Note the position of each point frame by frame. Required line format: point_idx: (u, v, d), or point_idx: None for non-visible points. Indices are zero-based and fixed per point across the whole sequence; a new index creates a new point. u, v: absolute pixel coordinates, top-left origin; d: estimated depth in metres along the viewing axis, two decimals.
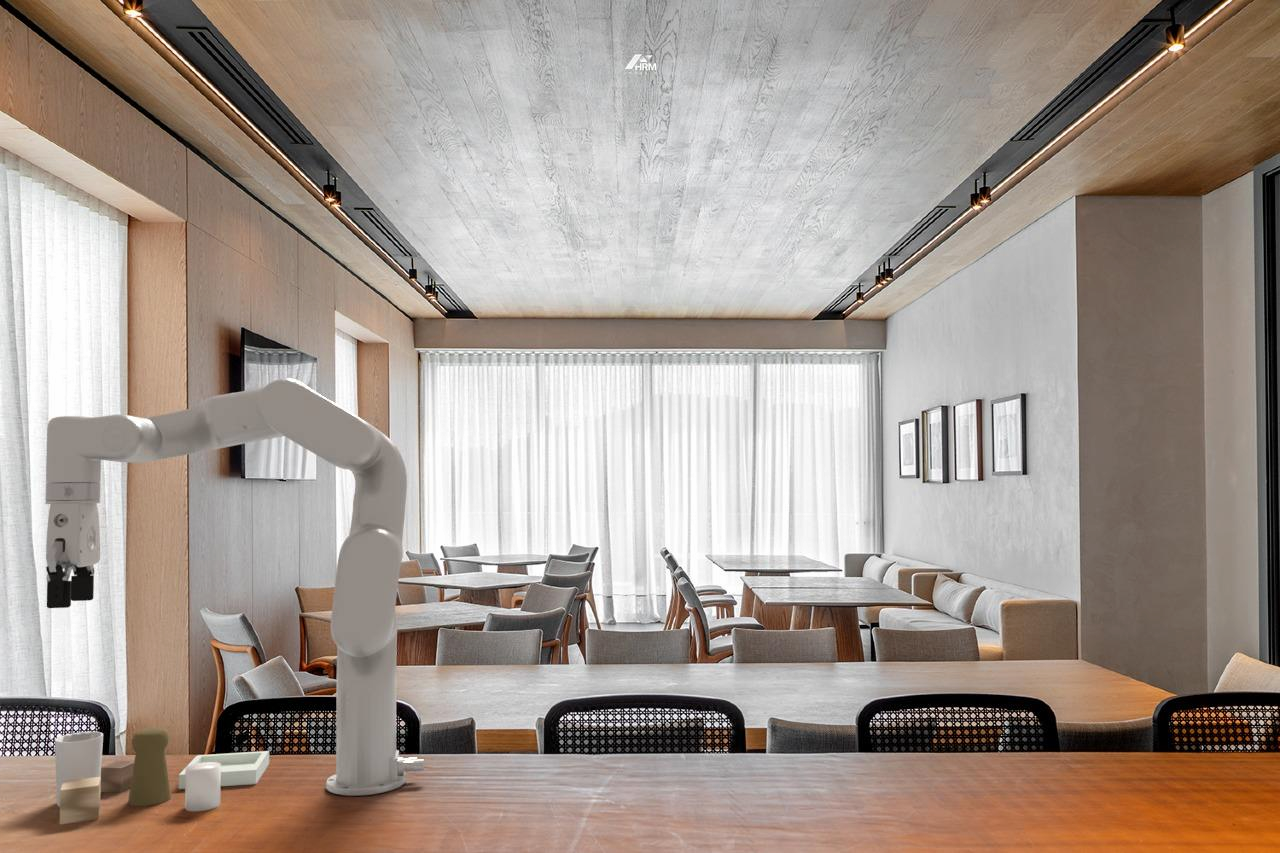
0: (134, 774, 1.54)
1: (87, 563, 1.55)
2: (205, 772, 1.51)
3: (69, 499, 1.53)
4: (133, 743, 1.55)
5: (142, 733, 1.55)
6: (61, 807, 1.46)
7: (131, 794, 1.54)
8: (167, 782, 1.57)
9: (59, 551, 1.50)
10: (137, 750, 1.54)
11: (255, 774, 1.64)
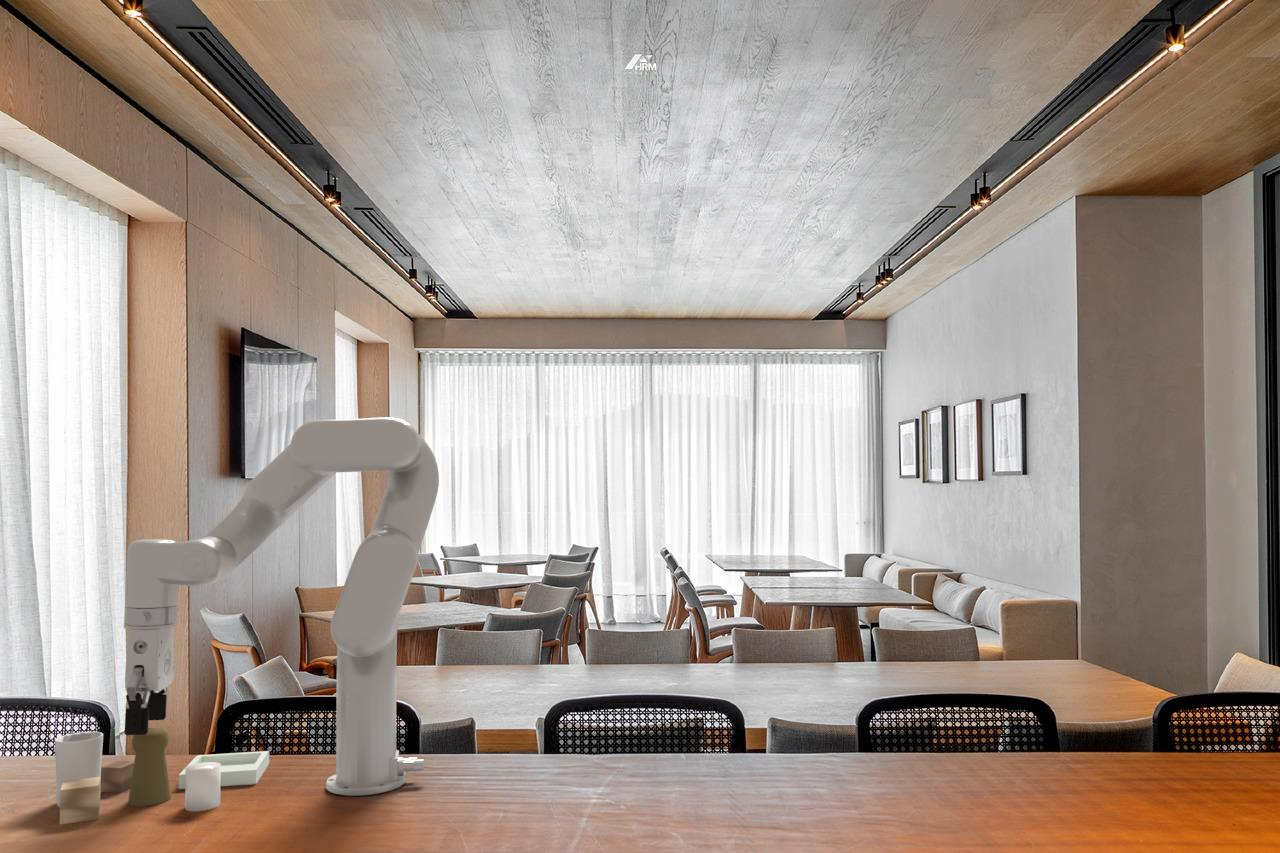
0: (134, 774, 1.54)
1: (163, 687, 1.56)
2: (205, 772, 1.51)
3: (148, 625, 1.54)
4: (133, 743, 1.55)
5: None
6: (61, 807, 1.46)
7: (131, 794, 1.54)
8: (167, 782, 1.57)
9: (139, 679, 1.51)
10: (137, 750, 1.54)
11: (255, 774, 1.64)
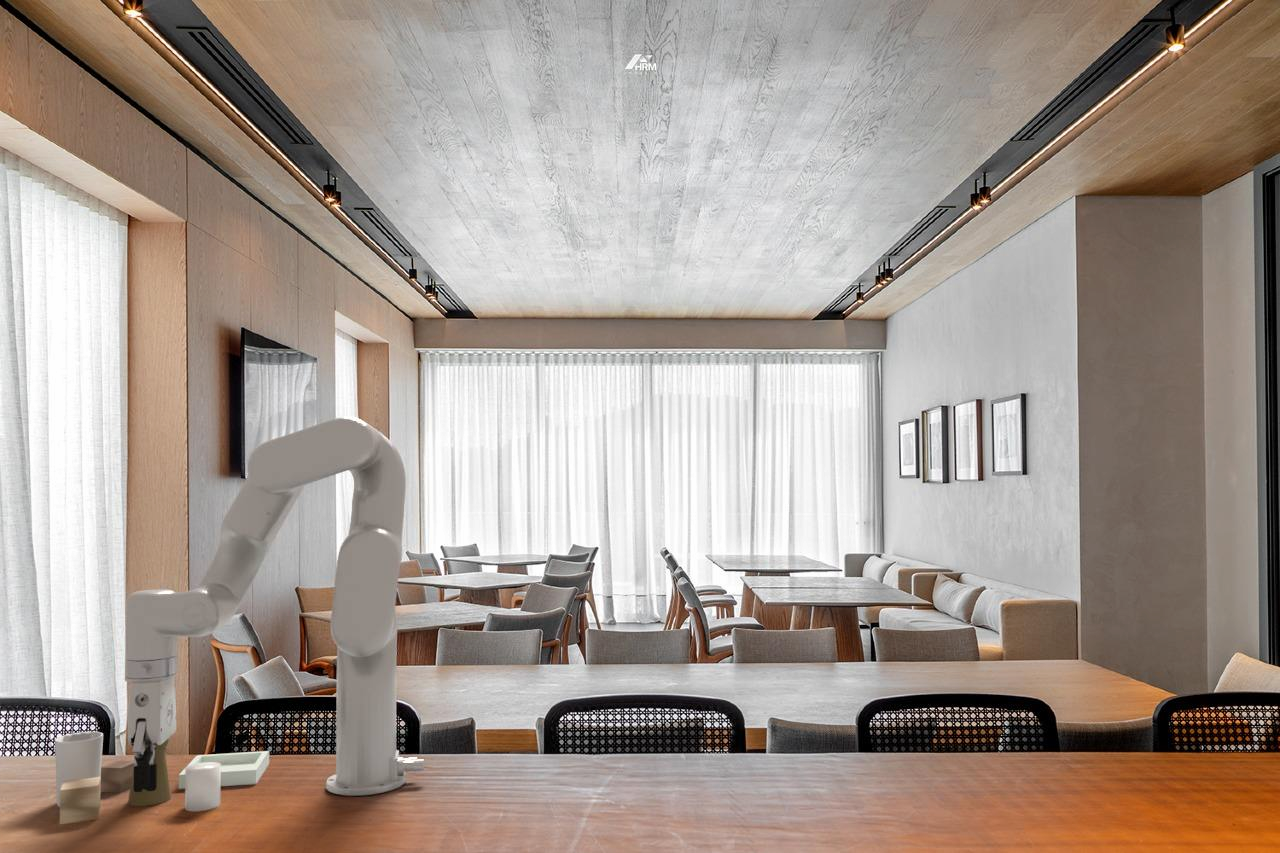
0: None
1: (166, 738, 1.56)
2: (205, 772, 1.51)
3: (149, 677, 1.54)
4: None
5: None
6: (61, 807, 1.46)
7: (131, 794, 1.54)
8: (167, 782, 1.57)
9: (144, 740, 1.51)
10: None
11: (255, 774, 1.64)
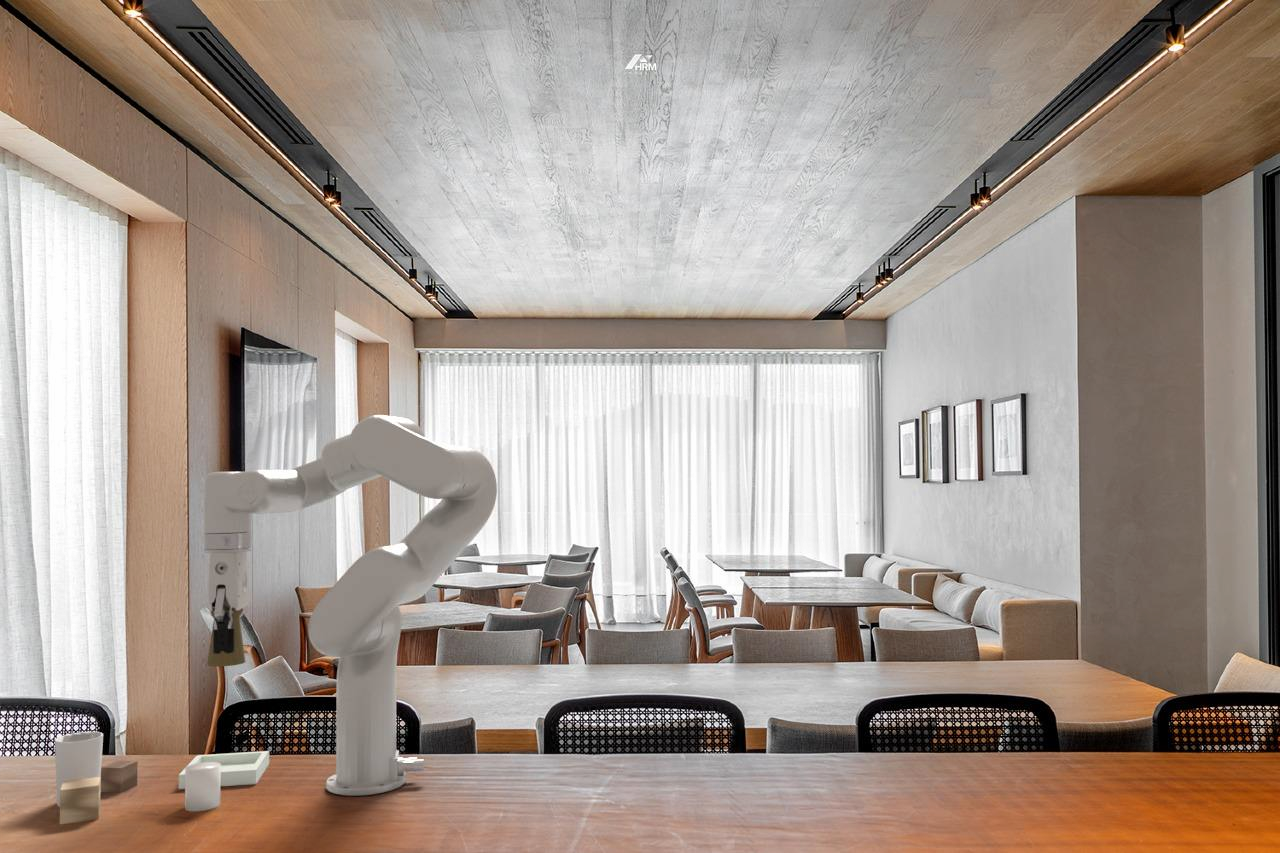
0: (213, 638, 1.68)
1: (242, 606, 1.69)
2: (205, 772, 1.51)
3: (227, 548, 1.67)
4: None
5: None
6: (61, 807, 1.46)
7: (210, 656, 1.68)
8: (242, 647, 1.70)
9: (223, 604, 1.65)
10: None
11: (255, 774, 1.64)
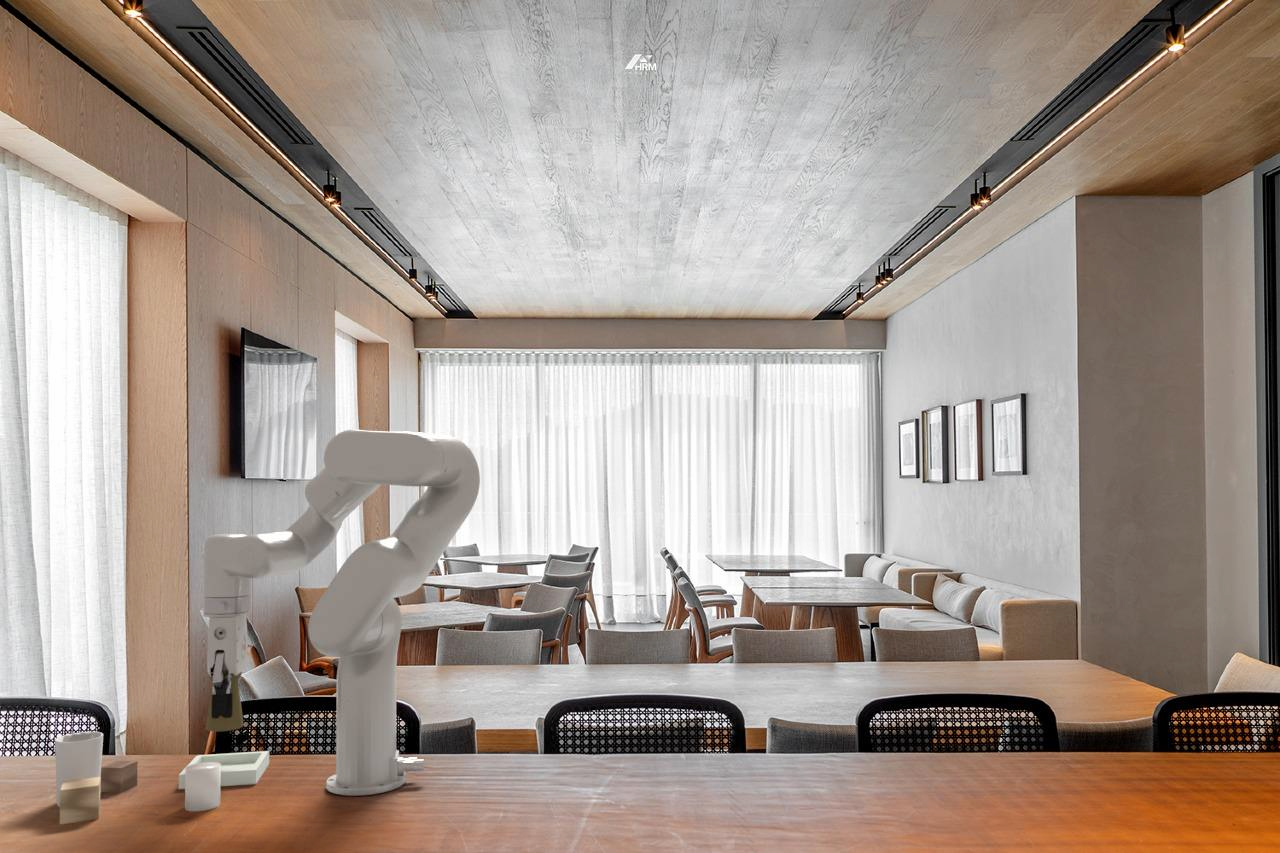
0: (211, 702, 1.67)
1: (241, 670, 1.69)
2: (205, 772, 1.51)
3: (226, 613, 1.67)
4: None
5: None
6: (61, 807, 1.46)
7: (208, 720, 1.67)
8: (240, 711, 1.70)
9: (222, 670, 1.64)
10: None
11: (255, 774, 1.64)
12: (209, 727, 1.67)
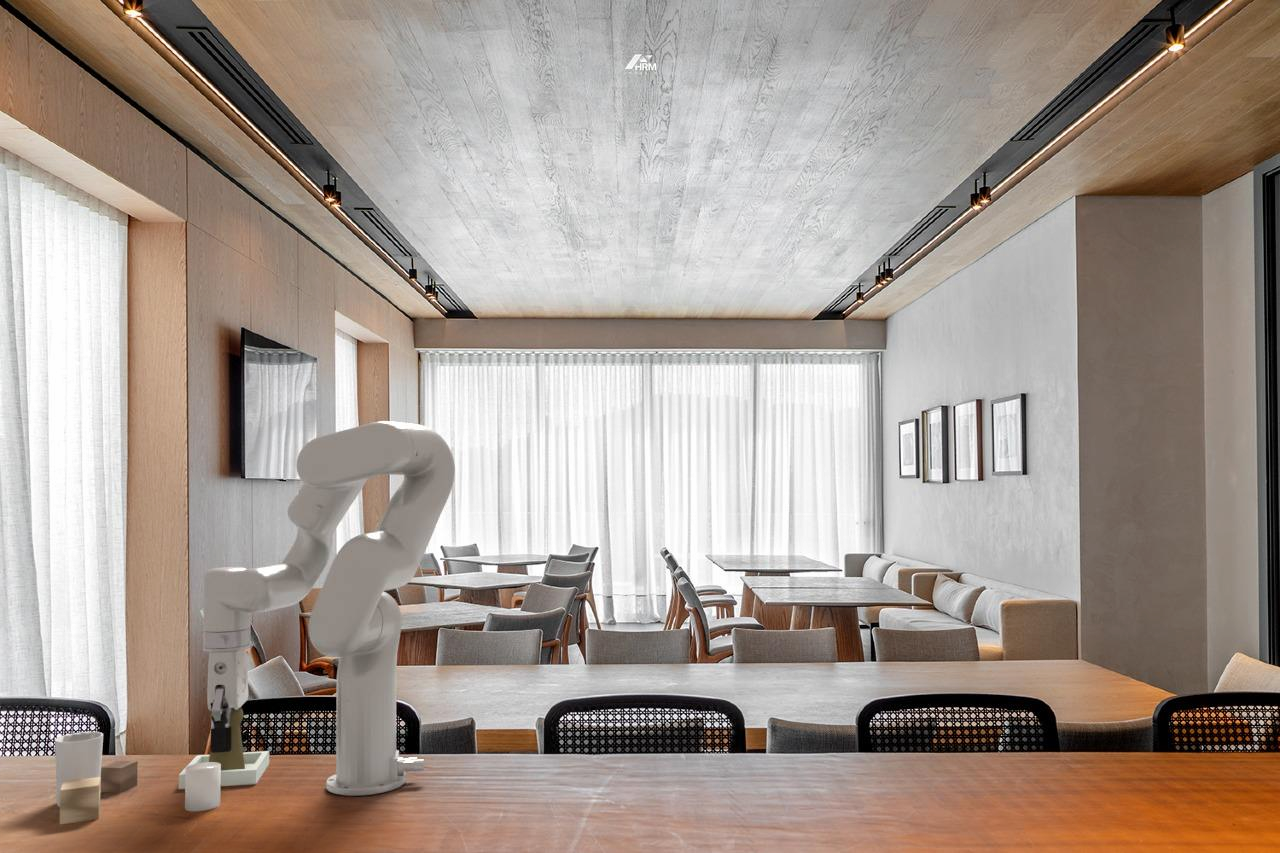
0: None
1: (241, 704, 1.68)
2: (205, 772, 1.51)
3: (226, 647, 1.66)
4: (211, 718, 1.67)
5: None
6: (61, 807, 1.46)
7: None
8: (242, 755, 1.69)
9: (221, 702, 1.63)
10: None
11: (255, 774, 1.64)
12: None
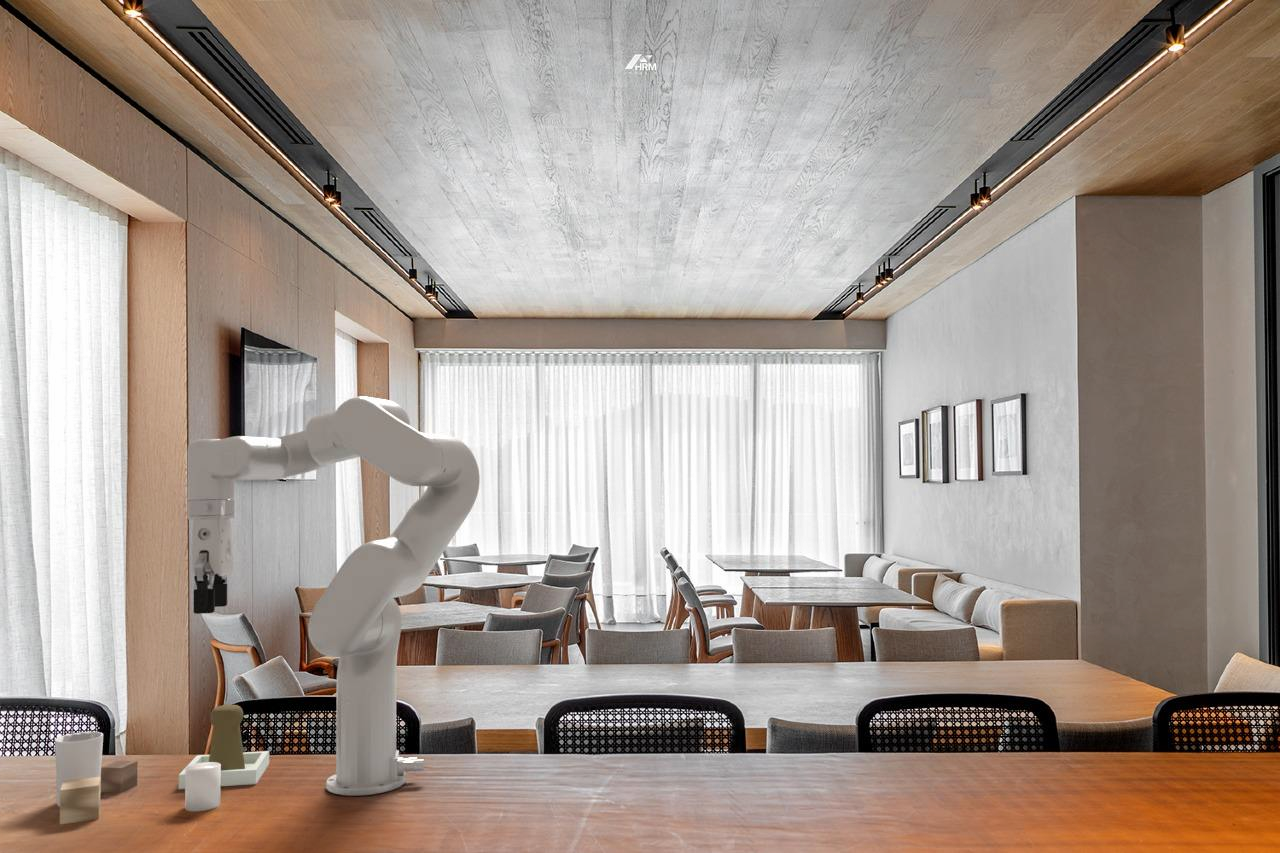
0: (212, 747, 1.67)
1: (226, 572, 1.71)
2: (205, 772, 1.51)
3: (210, 514, 1.69)
4: (211, 718, 1.67)
5: (219, 709, 1.67)
6: (61, 807, 1.46)
7: None
8: (242, 755, 1.69)
9: (205, 562, 1.65)
10: (215, 725, 1.67)
11: (255, 774, 1.64)
12: None
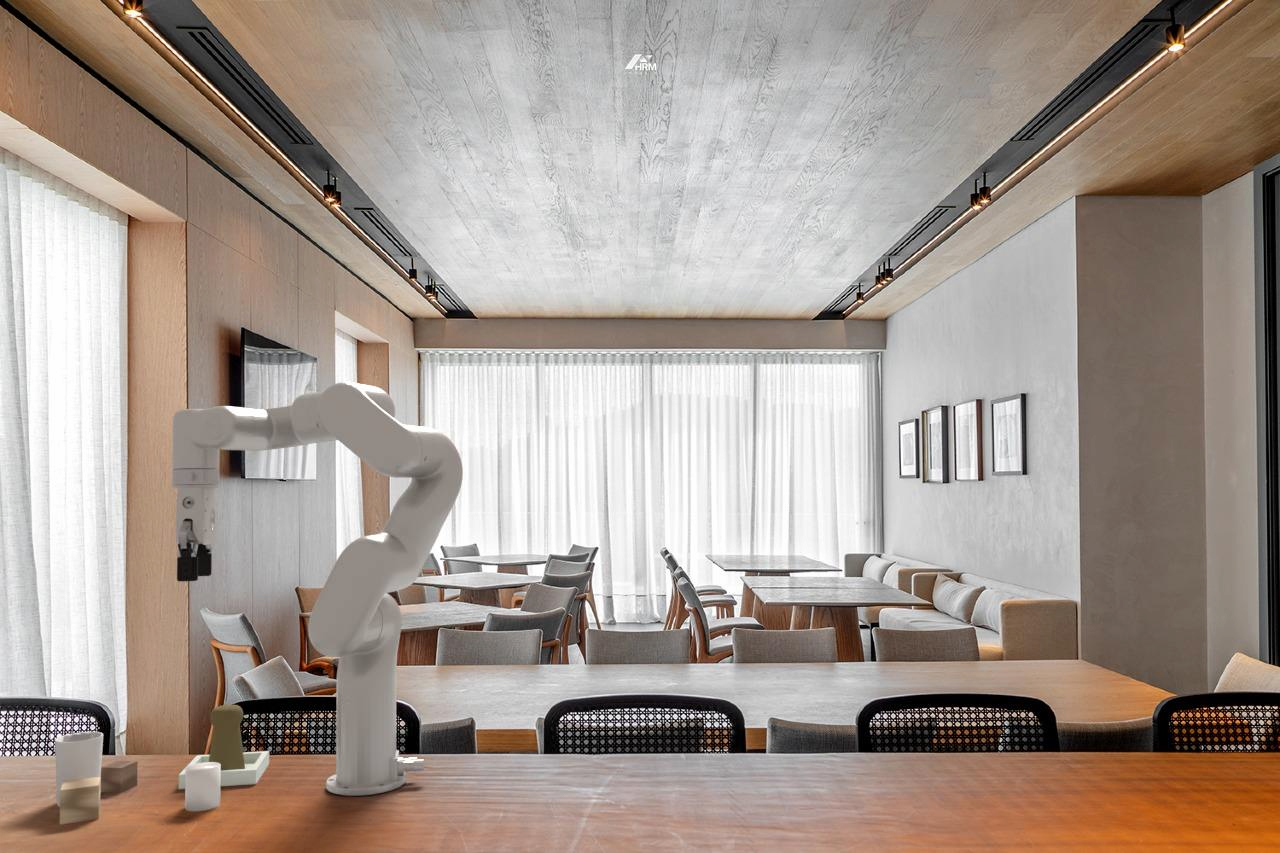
0: (212, 747, 1.67)
1: (210, 541, 1.72)
2: (205, 772, 1.51)
3: (195, 483, 1.70)
4: (211, 718, 1.67)
5: (219, 709, 1.67)
6: (61, 807, 1.46)
7: None
8: (242, 755, 1.69)
9: (188, 530, 1.66)
10: (215, 725, 1.67)
11: (255, 774, 1.64)
12: None
